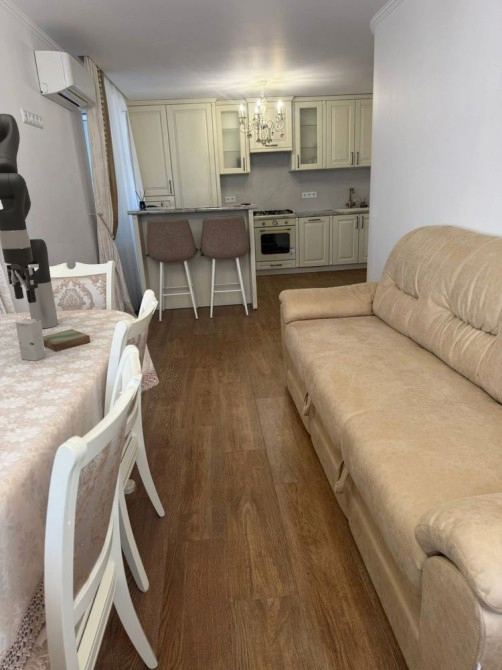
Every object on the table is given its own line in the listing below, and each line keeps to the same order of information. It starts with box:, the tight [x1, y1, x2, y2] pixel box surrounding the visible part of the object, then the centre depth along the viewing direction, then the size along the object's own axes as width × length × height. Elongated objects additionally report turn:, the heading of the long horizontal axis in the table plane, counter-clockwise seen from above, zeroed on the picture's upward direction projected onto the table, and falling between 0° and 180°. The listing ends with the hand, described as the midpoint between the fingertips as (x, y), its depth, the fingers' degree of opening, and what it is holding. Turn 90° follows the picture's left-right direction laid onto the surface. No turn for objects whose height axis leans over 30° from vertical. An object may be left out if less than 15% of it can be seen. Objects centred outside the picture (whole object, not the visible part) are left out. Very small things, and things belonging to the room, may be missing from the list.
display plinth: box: [43, 328, 91, 352], centre depth 152 cm, size 12×12×3 cm
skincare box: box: [15, 318, 46, 362], centre depth 137 cm, size 6×4×12 cm
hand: (26, 300), depth 134 cm, fingers open, 8 cm apart
